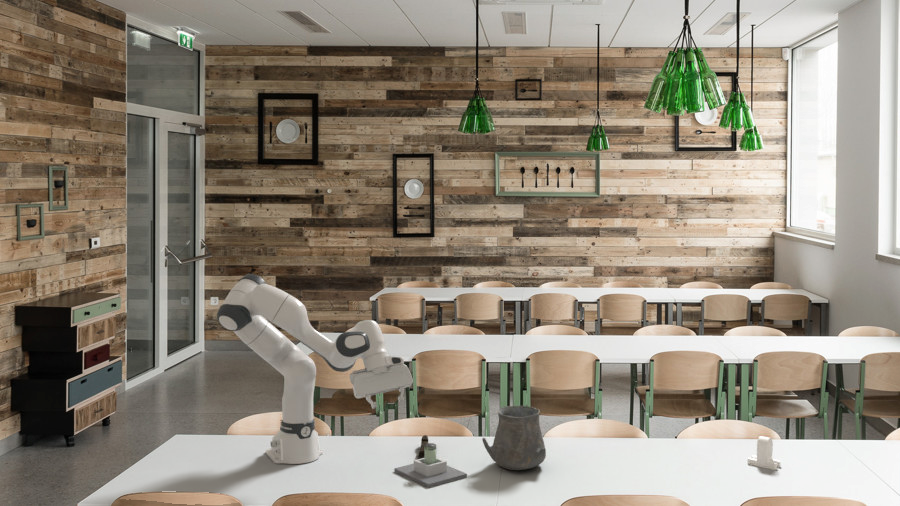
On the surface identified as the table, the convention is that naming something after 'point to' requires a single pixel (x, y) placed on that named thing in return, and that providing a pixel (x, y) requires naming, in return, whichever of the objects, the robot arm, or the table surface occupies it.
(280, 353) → the robot arm
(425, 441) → the brown wooden log
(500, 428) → the vessel
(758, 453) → the cable organizer
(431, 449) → the green cylinder
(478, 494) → the table surface
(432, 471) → the docking plate
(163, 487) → the table surface
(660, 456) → the table surface
